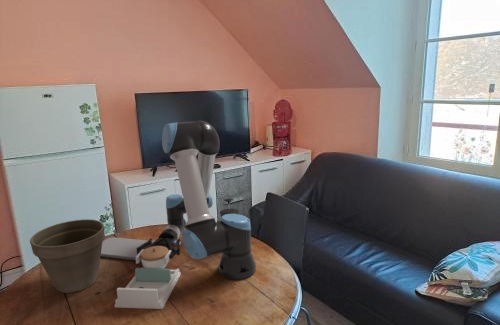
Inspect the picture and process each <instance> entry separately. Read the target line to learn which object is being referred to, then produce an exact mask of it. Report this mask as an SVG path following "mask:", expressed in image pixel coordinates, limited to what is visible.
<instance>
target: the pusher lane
mask: <svg viewBox="0 0 500 325" xmlns="http://www.w3.org/2000/svg"><path fill="white" fill-rule="evenodd" d="M170 274H171V280H170V281H169V282H152V281H136V274H134V276H133V277H132V278H131V280H130V281H129V282H128V284H127V285H126V286H125V287H117V289H116V295H117V298H116V299H115V300H114V302H115V304H114V308H120V309H121V308H125V309H148V310H150V309H154V310H155V309H156V310H163V309H164V307H165V305H166V303H167V301H168V299H169V298H170V296H171V294H172V292H173V290H174V288H175V286H176V284H177V283H178V280H179V279H180V276H181V274H182V273H181V271H180V268H175V269H170Z"/></svg>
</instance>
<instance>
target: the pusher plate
mask: <svg viewBox="0 0 500 325" xmlns="http://www.w3.org/2000/svg"><path fill="white" fill-rule="evenodd" d="M170 270H171V268H164V269H160V268H144V267H136V268H135V269H134V271H135V275H136V281H152V282H169V281H170V280H171V274H170Z"/></svg>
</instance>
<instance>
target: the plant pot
mask: <svg viewBox="0 0 500 325" xmlns="http://www.w3.org/2000/svg"><path fill="white" fill-rule="evenodd" d="M105 234H106V233H105V225H104V223H103V222H102V221H100V220H97V219H84V218H83V219H75V220H68V221H65V222H60V223H55V224H53V225H51V226H48V227H45V228H43V229H41V230H39V231H38V232H36V233H35V234H33V235H32V236H31V238H30V240H29V243H30V247H31V250H32V254H33V255H34V256H35V257H37V258H38V260H39V262H40V264H41V265H42V267H43V269H44V270H45V273H46V274H47V276H48V277H49V280H50V281H51V284H52V285H53V286H54V288H55V289H56V290H57V291H58V292H60V293H65V294H68V293H69V294H70V293H77V292H80V291H82V290H85V289H87V288H89V287H91V286H92V285H93V284H94V283H96V282H97V279H98V275H99V269H100V263H101V249H102V242H103V241H104V240H105V238H106V235H105Z"/></svg>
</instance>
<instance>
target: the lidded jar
mask: <svg viewBox="0 0 500 325" xmlns="http://www.w3.org/2000/svg"><path fill="white" fill-rule="evenodd" d="M168 252H169V250H168V248H166V247H164V246H152V247H149V248H146V249H144V250H143V251H142V252H141V254H140V256H141V261H140V262H141V265H142V268H160V269H166V267H167V265H168V264H167V265H166V264H165V262H164V258H165V256H166V255H167V253H168Z"/></svg>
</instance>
